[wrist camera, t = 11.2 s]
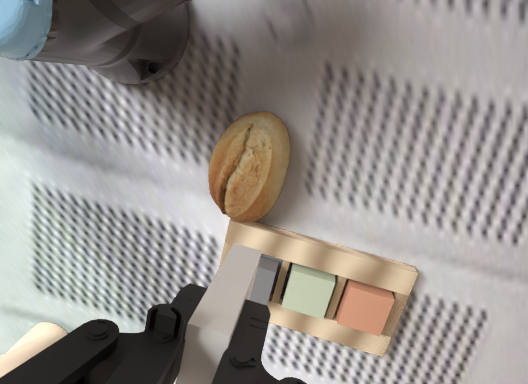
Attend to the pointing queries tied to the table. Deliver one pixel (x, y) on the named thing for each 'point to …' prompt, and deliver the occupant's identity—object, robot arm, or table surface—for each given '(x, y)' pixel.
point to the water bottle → (30, 345)
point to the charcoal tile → (264, 280)
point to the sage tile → (308, 290)
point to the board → (344, 266)
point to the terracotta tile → (364, 307)
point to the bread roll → (249, 166)
